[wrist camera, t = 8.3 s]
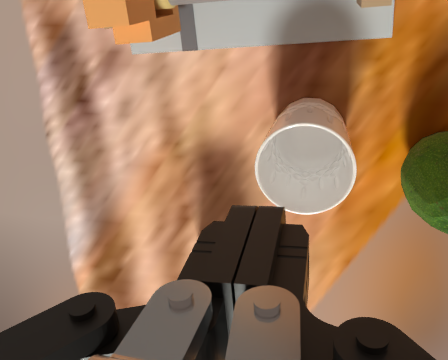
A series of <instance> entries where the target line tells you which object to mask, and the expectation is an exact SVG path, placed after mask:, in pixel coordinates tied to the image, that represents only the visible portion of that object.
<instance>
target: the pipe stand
mask: <svg viewBox="0 0 448 360" xmlns="http://www.w3.org/2000/svg"><path fill="white" fill-rule="evenodd" d="M394 1H395V0H154V5H155V10H159V9H170V8H174V7H175V6H176V5H178V10H179V18H180V26H181V31H180V32H177V33H174V34H172V35H169V36H166V37H164V38H161V39H158V40H156V41H153V42H142V43H130V45H131V51H132V54H145V53H160V52H176V51H193V50H206V49H222V48H237V47H253V46H268V45H283V44H299V43H314V42H329V41H345V40H360V39H375V38H391V37H392V31H393V16H394ZM109 28H113V27H105V28H104V29H109Z"/></svg>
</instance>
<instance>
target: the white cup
mask: <svg viewBox="0 0 448 360" xmlns="http://www.w3.org/2000/svg"><path fill="white" fill-rule="evenodd" d="M356 171H357V167H356V160H355V156H354V152H353V148H352V144H351V140H350V137H349V134H348V131H347V128H346V126H345V124H344V120H343V118H342V116H341V115H340V113H339V112H338V111H337V109H336V108H335V106H334V105H332V104H330V103H328V102H326V101H324V100H322V99H320V98H302V99H300V100H297V101H295V102H292V103H290V104H289V105H288V106H287V107H286V108H285V109H284V110H283V111H282V112H281V114H280V115H279V116H278V118H277V119H276V120H275V122H274V123H273V125H272V127H271V128H270V130H269V132H268V134H267V136H266V138H265V139H264V141H263V143H262V145H261V147H260V149H259V151H258V153H257V156H256V160H255V175H256V179H257V182H258V185H259V187H260V189H261V191H262V192H263V193H264V195H265V196H266V197H267V198H268V199H269V200H270V201H271V202H272V203H273V204H275V205H276V206H278V207H285V210H286V211H289V212H292V213H296V214H317V213H321V212H324V211H327V210H329V209H331V208H333V207H335V206H336V205H338V204H339V203H341V202H342V201H343V200H344V199H345V198H346V197H347V195H348V194H349V192H350V191H351V189H352V187H353V185H354V182H355V179H356Z"/></svg>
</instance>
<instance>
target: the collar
mask: <svg viewBox="0 0 448 360" xmlns="http://www.w3.org/2000/svg"><path fill="white" fill-rule="evenodd" d="M83 4H84V9H85V14H86V18H87V23H88V28H89V29H93V28H105V27H113V32H114V38H115V43H116V44H129V43H142V42H153V41H156V40H158V39H161V38H164V37H166V36H169V35H172V34H174V33H177V32H180V31H181V26H180V18H179V10H178V5H176V6H175V7H174V8H170V9H159V10H155V5H154V0H83Z"/></svg>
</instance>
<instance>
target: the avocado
mask: <svg viewBox="0 0 448 360" xmlns="http://www.w3.org/2000/svg"><path fill="white" fill-rule="evenodd" d="M401 185H402V188H403V191H404V194H405V196H406V198H407V200H408V202H409V204H410V206H411V208H412V210H413V211H414V212H415V213H417V214H418V215H419V216H420V217H421V218H422V219H423V220H424V221H426V222H427V223H428V224H429V225H431V226H432V227H434V228H436V229H438V230H440V231H442V232H444V233H447V234H448V131H444V132H437V133H435V134H432V135H429V136H427V137H424V138H422V139H421V140H420V141H419V142H418V143H416V144H415V145H414V146H413V147H412V148H411V149H410V151H409V153H408V155H407V157H406V158H405V160H404V163H403V165H402V168H401Z"/></svg>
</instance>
